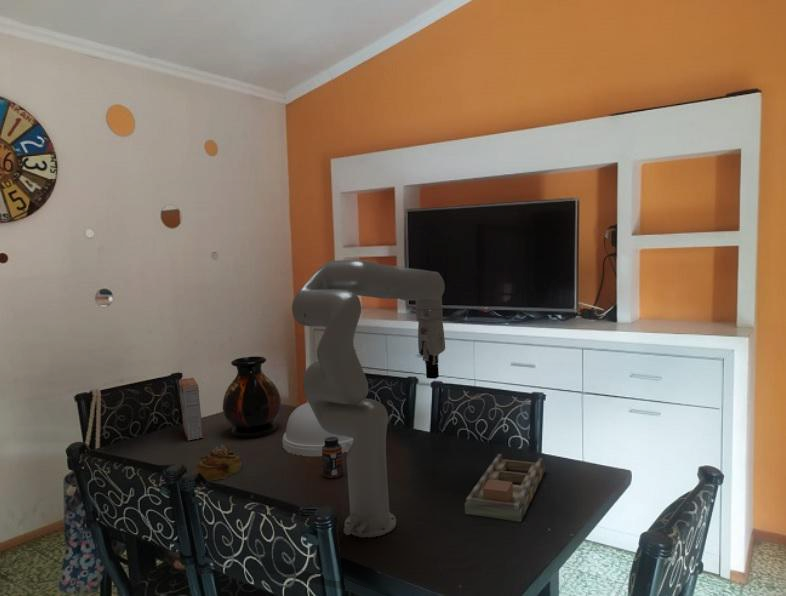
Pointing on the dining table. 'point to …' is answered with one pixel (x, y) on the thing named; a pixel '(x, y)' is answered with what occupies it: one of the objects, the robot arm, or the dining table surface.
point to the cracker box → (191, 408)
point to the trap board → (520, 493)
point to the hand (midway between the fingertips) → (432, 377)
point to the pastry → (218, 463)
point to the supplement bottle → (332, 458)
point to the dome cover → (308, 434)
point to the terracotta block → (498, 490)
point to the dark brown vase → (251, 400)
